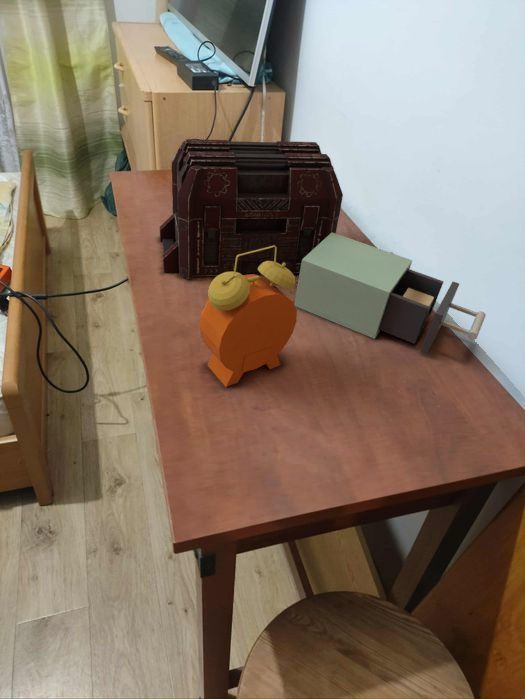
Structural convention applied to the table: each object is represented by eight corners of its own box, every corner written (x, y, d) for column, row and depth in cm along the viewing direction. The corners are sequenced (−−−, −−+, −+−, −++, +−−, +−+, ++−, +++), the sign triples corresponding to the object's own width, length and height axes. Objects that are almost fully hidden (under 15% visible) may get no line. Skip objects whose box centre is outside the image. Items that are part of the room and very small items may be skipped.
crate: (317, 230, 115) (333, 134, 102) (344, 274, 100) (367, 168, 87) (159, 233, 107) (154, 129, 94) (164, 280, 93) (159, 165, 80)
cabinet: (397, 304, 95) (412, 260, 89) (374, 339, 87) (389, 292, 80) (322, 276, 100) (331, 232, 94) (293, 305, 92) (301, 259, 85)
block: (425, 318, 89) (434, 297, 86) (418, 331, 86) (427, 309, 83) (401, 309, 91) (408, 287, 88) (392, 321, 88) (400, 299, 85)
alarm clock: (267, 340, 83) (283, 229, 71) (289, 362, 80) (310, 250, 67) (196, 366, 77) (199, 249, 64) (217, 391, 73) (224, 273, 60)
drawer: (477, 332, 90) (494, 295, 85) (462, 368, 82) (481, 330, 77) (369, 291, 96) (379, 255, 91) (346, 320, 88) (356, 283, 83)
